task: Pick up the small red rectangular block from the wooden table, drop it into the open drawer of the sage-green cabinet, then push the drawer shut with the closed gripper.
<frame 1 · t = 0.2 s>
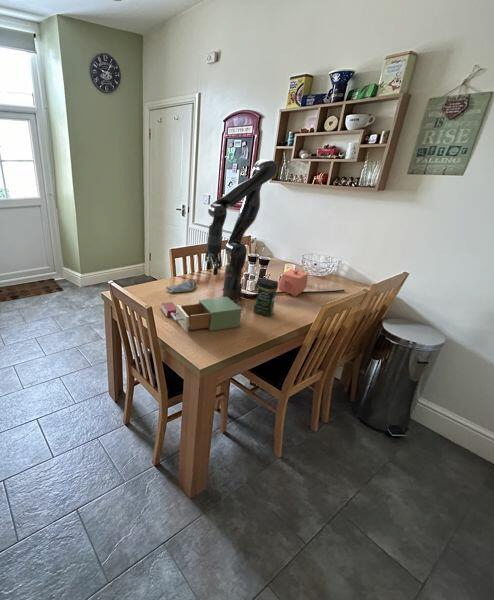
hand: (211, 272, 178), 17 cm above the table, tool pointing down, fingers open, 8 cm apart
drawer: (191, 316, 157), point 5 cm above the table, slide at 11.0 cm
red rectangular block: (169, 312, 171), on the table
cabinet: (218, 321, 163), on the table
coffee jar: (263, 312, 173), on the table
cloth: (184, 287, 203), on the table
pink knobbed cube: (290, 292, 199), on the table
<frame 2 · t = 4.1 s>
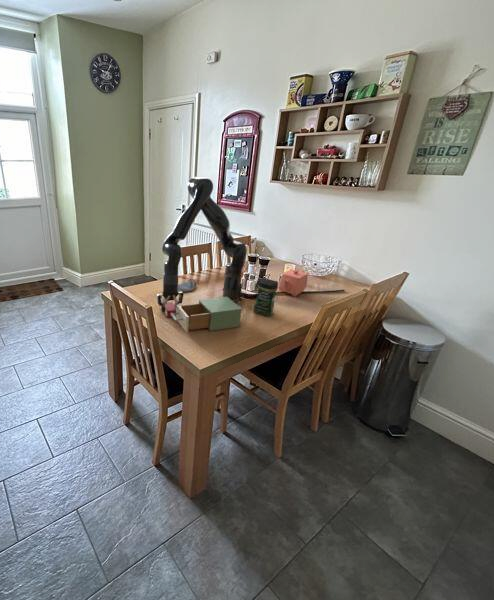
hand: (169, 311, 171), 1 cm above the table, tool pointing down, fingers closed on red rectangular block, 6 cm apart
red rectangular block: (169, 312, 171), on the table, touching gripper
everything else where it was.
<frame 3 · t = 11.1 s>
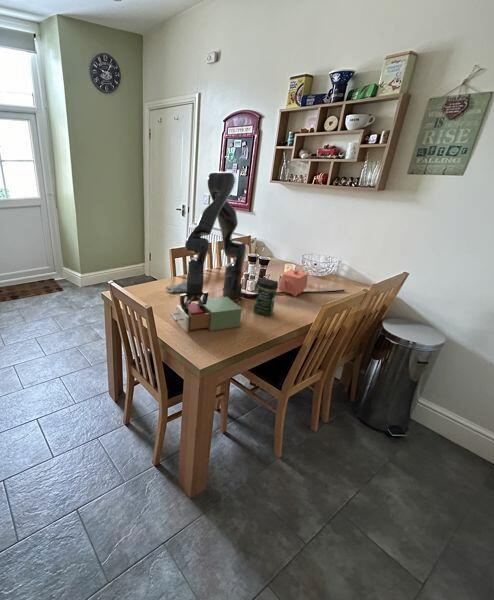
hand: (192, 313, 156), 7 cm above the table, tool pointing down, fingers closed on red rectangular block, 6 cm apart
drawer: (190, 316, 157), point 5 cm above the table, slide at 11.1 cm, touching gripper
red rectangular block: (192, 314, 157), point 6 cm above the table, touching gripper
everything else where it was.
when the fingers open (7 cm above the table, at t = 11.1 s): red rectangular block drops 4 cm, resting on drawer.
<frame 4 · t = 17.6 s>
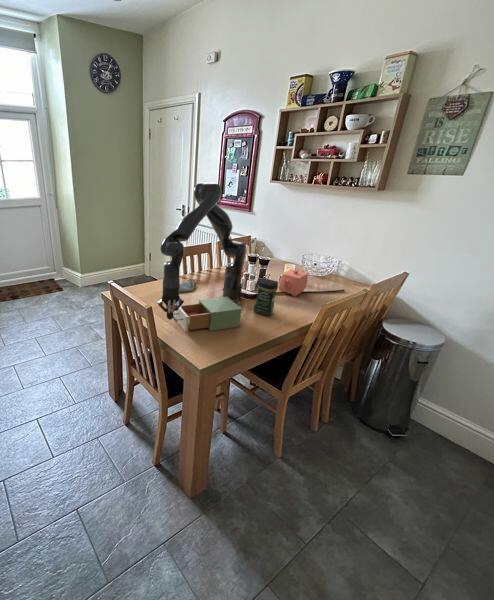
hand: (169, 318, 154), 5 cm above the table, tool pointing down, fingers closed
drawer: (190, 316, 157), point 5 cm above the table, slide at 11.1 cm, touching red rectangular block, gripper
red rectangular block: (192, 321, 158), point 2 cm above the table, touching drawer
everything else where it was.
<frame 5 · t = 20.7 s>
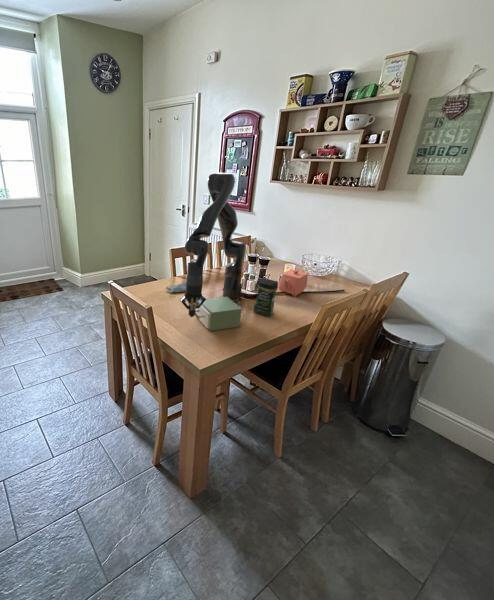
hand: (191, 316, 157), 5 cm above the table, tool pointing down, fingers closed
drawer: (211, 313, 160), point 5 cm above the table, slide at 0.0 cm, touching red rectangular block, cabinet, gripper
red rectangular block: (213, 318, 161), point 2 cm above the table, touching drawer
everything else where it was.
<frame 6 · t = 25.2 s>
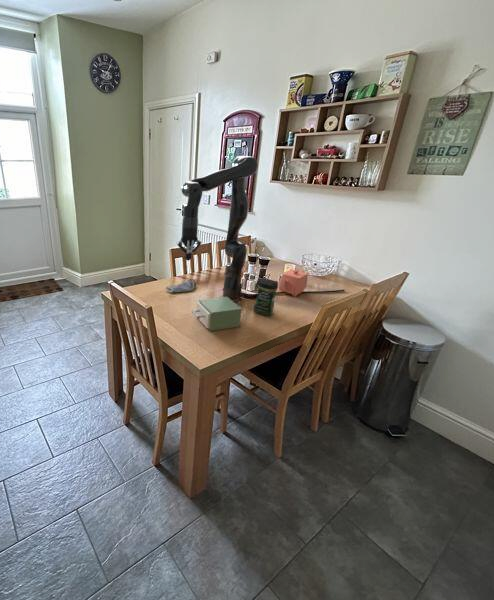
hand: (188, 259, 165), 27 cm above the table, tool pointing down, fingers closed
drawer: (211, 313, 160), point 5 cm above the table, slide at 0.0 cm, touching red rectangular block
everything else where it was.
at the end: red rectangular block inside the target area in the cabinet (2.6 cm from its centre), point 2.0 cm above the cabinet's base; drawer slide at 0.0 cm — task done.
